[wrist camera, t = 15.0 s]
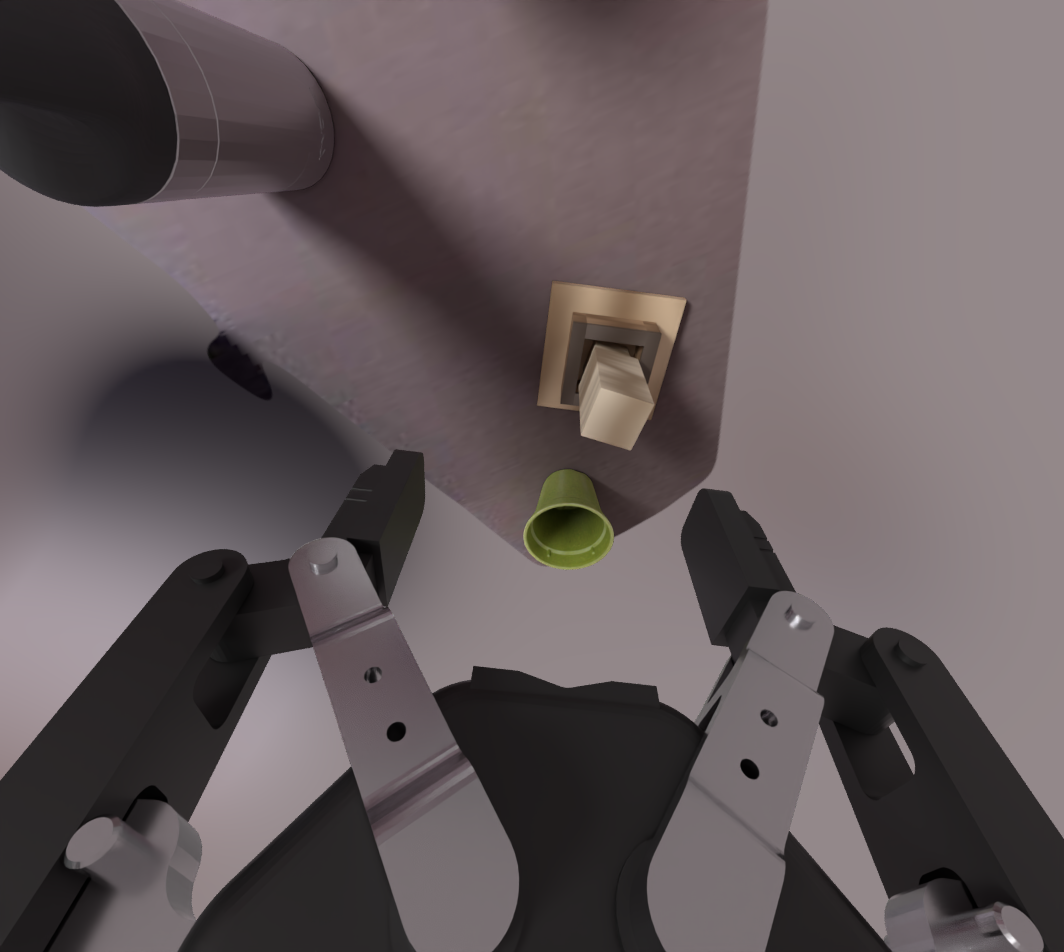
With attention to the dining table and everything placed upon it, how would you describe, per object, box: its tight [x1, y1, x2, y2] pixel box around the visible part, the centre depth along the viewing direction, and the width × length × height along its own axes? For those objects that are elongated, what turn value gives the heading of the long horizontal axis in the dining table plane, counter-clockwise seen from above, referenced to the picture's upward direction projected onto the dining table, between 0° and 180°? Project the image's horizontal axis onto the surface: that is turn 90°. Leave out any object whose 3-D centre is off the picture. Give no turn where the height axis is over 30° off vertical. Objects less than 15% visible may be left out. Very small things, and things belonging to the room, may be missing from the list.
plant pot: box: [524, 469, 614, 570], centre depth 50 cm, size 9×9×9 cm
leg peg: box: [579, 340, 654, 450], centre depth 37 cm, size 4×4×13 cm
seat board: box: [537, 281, 687, 420], centre depth 41 cm, size 12×12×4 cm
